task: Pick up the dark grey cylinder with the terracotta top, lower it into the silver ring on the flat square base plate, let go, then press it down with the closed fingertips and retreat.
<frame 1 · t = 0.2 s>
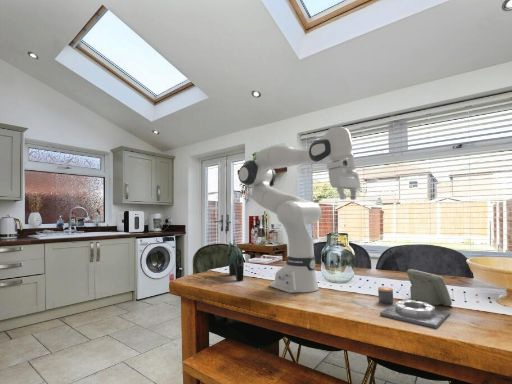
hand: (348, 199, 117), 39 cm above the table, tool pointing down, fingers open, 8 cm apart
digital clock: (429, 301, 110), on the table
flat square base plate: (415, 314, 96), on the table
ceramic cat: (236, 277, 156), on the table
dark grey cylinder: (386, 302, 109), on the table
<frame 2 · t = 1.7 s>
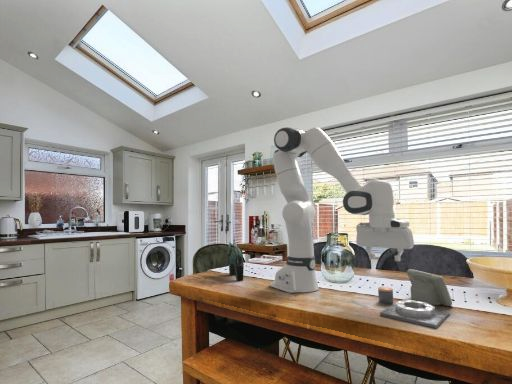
hand: (384, 259, 110), 16 cm above the table, tool pointing down, fingers open, 8 cm apart
nothing on the table moved.
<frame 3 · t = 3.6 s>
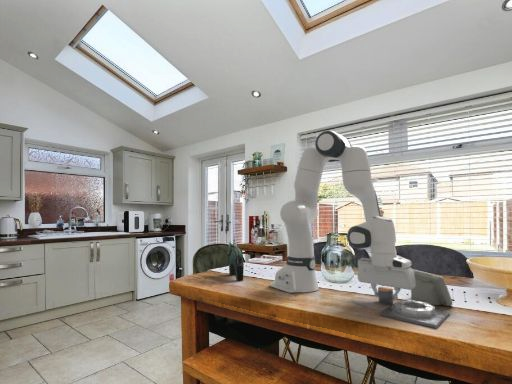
hand: (385, 297, 109), 2 cm above the table, tool pointing down, fingers closed on dark grey cylinder, 5 cm apart
dark grey cylinder: (386, 302, 109), on the table, touching gripper
everything else where it was.
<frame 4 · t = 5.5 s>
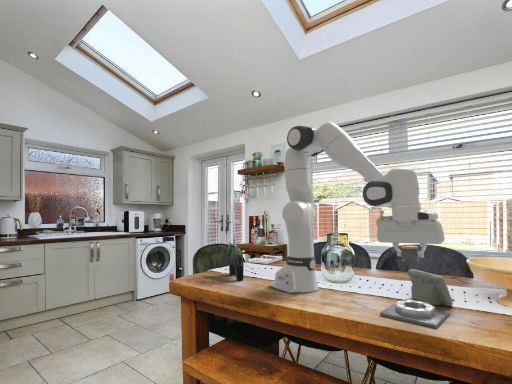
hand: (410, 256, 98), 18 cm above the table, tool pointing down, fingers closed on dark grey cylinder, 5 cm apart
dark grey cylinder: (410, 261, 98), point 17 cm above the table, touching gripper
everything else where it was.
when the fingers open (4 cm above the table, at t = 7.9 s): dark grey cylinder drops 1 cm, resting on flat square base plate.
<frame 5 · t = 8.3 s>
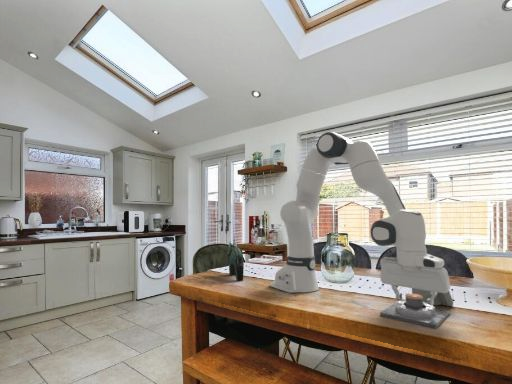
hand: (414, 301, 96), 4 cm above the table, tool pointing down, fingers open, 8 cm apart
dark grey cylinder: (414, 311, 96), point 1 cm above the table, touching flat square base plate
everything else where it was.
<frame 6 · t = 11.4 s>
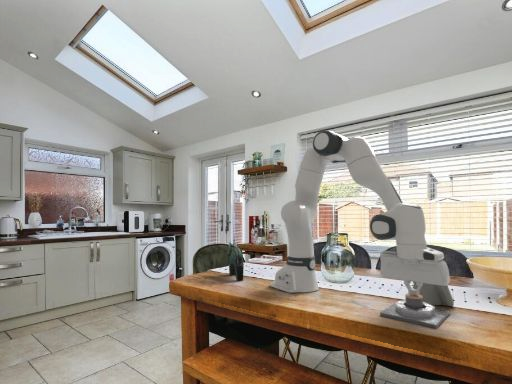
hand: (414, 295, 96), 6 cm above the table, tool pointing down, fingers closed
nothing on the table moved.
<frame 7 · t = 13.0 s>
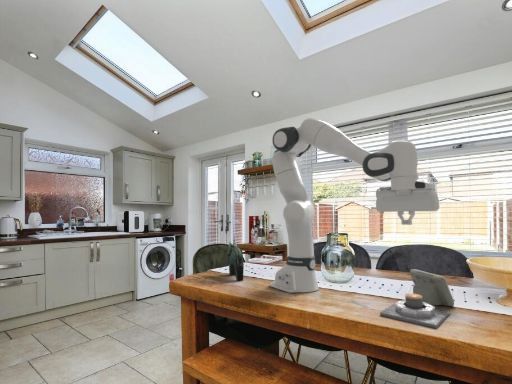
hand: (406, 224, 104), 29 cm above the table, tool pointing down, fingers closed
nothing on the table moved.
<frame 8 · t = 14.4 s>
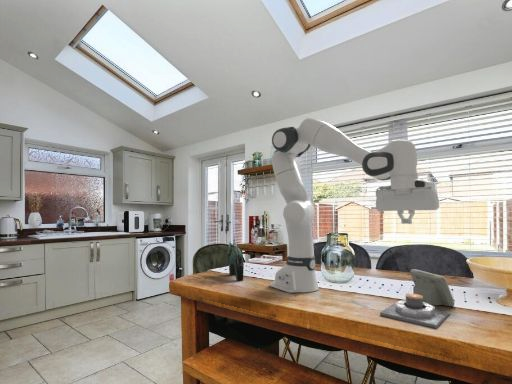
hand: (406, 223, 104), 29 cm above the table, tool pointing down, fingers closed
nothing on the table moved.
at the end: dark grey cylinder 0.1 cm off-centre on the flat square base plate, point 1.0 cm above the flat square base plate's base; dark grey cylinder tilted 1°; the gripper is holding nothing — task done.
